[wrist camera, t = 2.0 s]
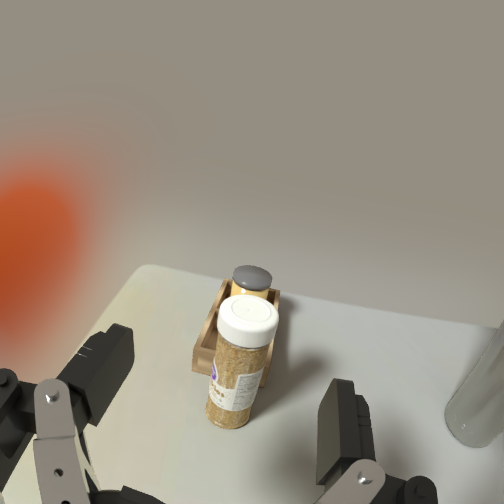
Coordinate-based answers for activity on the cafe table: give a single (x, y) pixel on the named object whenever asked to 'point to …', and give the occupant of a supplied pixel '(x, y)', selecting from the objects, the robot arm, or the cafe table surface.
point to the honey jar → (251, 281)
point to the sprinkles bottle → (239, 358)
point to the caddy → (209, 334)
